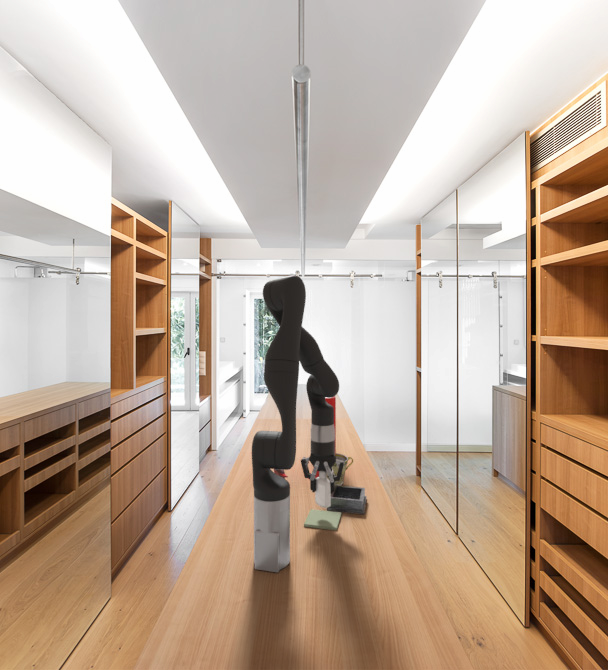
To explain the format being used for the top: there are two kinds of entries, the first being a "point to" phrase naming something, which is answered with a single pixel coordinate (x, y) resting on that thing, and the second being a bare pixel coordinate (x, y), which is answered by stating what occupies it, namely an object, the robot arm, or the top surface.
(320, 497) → the eye dropper bottle
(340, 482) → the ceramic cup
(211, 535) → the top surface
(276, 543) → the robot arm
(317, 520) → the rubber mat
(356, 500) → the socket block
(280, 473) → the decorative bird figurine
